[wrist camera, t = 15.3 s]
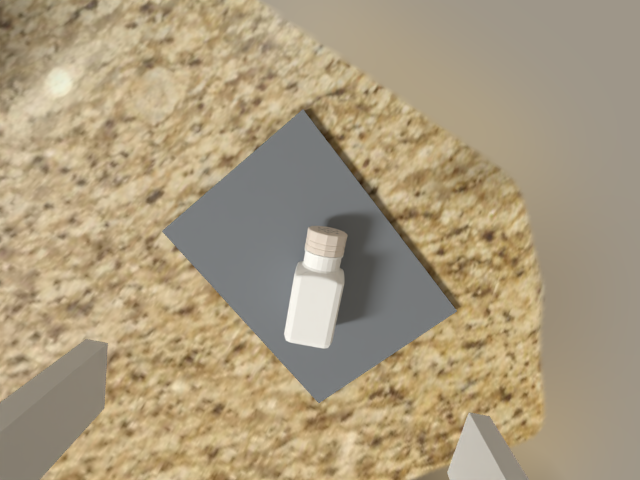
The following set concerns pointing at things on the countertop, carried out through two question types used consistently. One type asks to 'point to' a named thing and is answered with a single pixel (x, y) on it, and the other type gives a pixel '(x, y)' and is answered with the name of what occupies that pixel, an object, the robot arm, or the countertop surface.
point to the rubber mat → (289, 248)
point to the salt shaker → (317, 289)
